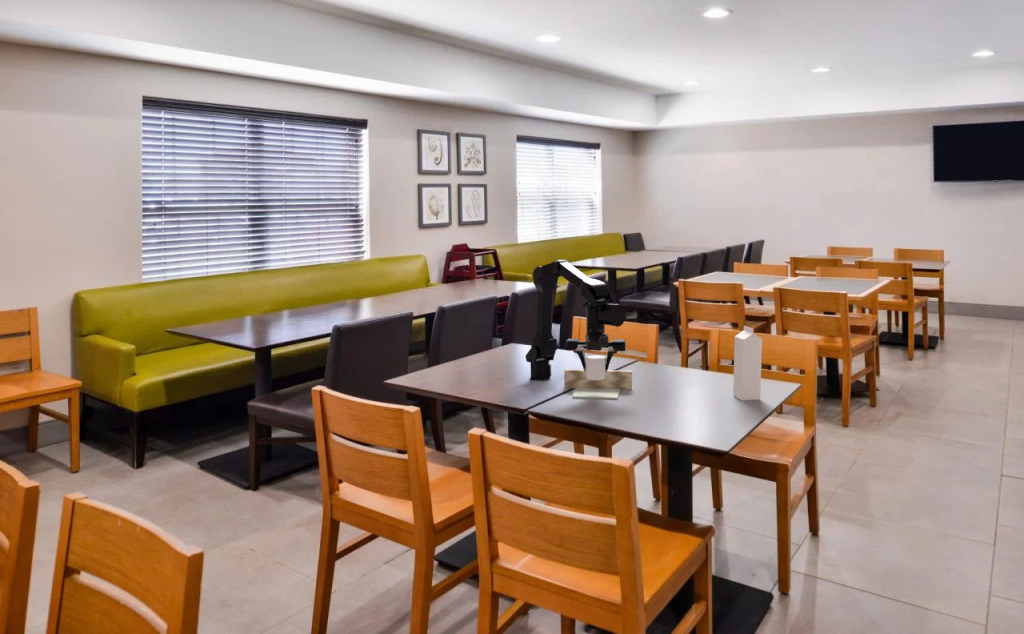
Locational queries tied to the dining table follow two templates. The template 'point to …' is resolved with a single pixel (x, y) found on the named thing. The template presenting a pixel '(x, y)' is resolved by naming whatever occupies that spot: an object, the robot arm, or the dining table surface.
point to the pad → (596, 393)
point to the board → (611, 381)
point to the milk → (747, 365)
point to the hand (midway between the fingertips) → (595, 371)
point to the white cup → (595, 367)
